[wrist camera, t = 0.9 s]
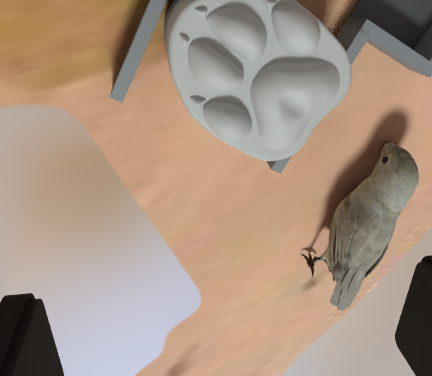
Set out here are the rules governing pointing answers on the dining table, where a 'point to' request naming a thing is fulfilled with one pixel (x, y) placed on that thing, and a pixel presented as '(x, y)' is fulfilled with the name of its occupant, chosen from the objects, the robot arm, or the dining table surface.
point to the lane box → (348, 36)
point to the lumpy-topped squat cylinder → (255, 71)
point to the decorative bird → (367, 222)
